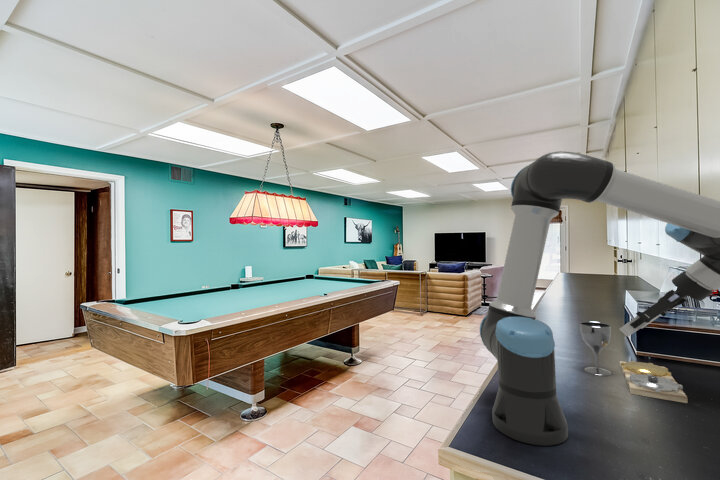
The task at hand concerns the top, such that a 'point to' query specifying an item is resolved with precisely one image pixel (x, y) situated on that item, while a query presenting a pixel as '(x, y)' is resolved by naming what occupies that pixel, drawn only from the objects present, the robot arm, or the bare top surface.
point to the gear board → (651, 393)
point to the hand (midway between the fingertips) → (630, 328)
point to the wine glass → (596, 342)
